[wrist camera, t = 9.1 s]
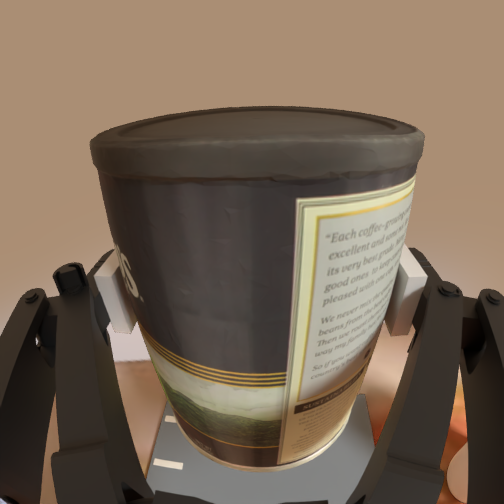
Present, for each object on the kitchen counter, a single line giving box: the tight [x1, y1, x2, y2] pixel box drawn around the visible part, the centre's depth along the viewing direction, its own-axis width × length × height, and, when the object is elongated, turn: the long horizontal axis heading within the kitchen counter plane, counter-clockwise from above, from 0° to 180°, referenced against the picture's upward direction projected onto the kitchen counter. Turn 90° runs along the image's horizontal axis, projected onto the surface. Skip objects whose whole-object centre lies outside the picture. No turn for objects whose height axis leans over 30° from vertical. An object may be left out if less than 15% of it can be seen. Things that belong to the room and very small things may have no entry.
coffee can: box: [90, 106, 425, 472], centre depth 13 cm, size 10×10×14 cm
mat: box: [146, 394, 375, 504], centre depth 21 cm, size 18×11×1 cm, turn 87°
